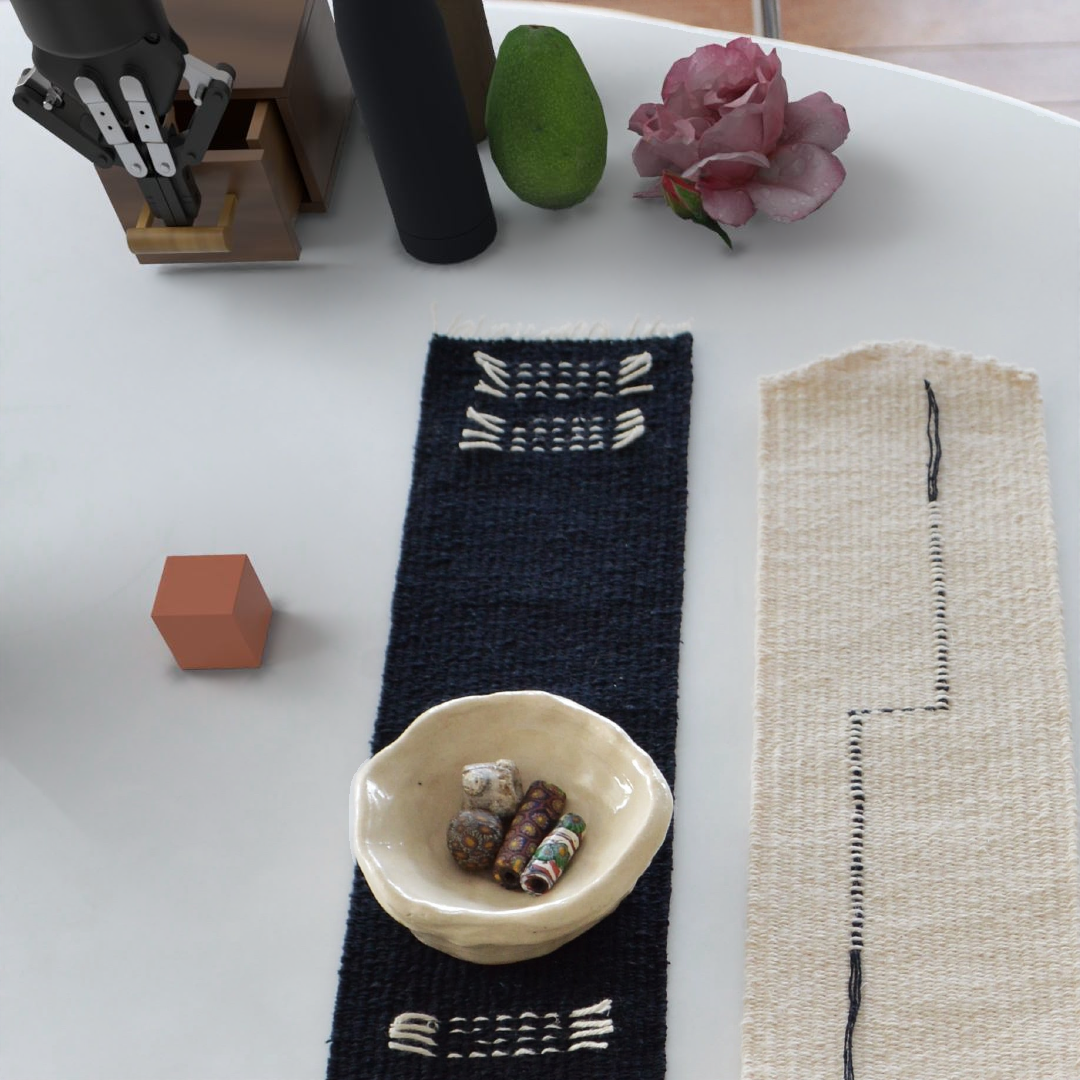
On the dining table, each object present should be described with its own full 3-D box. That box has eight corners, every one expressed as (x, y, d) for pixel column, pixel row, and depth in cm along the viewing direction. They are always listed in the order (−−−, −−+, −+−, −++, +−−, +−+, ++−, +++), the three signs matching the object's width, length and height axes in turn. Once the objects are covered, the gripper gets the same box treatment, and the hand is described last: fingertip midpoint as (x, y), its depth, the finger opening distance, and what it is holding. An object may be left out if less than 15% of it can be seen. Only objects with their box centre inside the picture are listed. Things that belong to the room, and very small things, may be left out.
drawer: (287, 309, 112) (248, 209, 106) (123, 313, 112) (74, 213, 106) (328, 143, 121) (294, 41, 115) (177, 146, 121) (135, 45, 115)
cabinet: (327, 212, 118) (283, 86, 111) (155, 216, 118) (98, 90, 111) (356, 91, 126) (317, -35, 118) (193, 95, 125) (143, -31, 118)
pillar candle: (536, 109, 124) (488, -110, 112) (429, 174, 121) (367, -45, 108) (446, 56, 128) (390, -162, 115) (340, 118, 124) (269, -101, 111)
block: (180, 669, 98) (149, 616, 94) (196, 610, 100) (166, 555, 96) (260, 667, 98) (232, 614, 94) (273, 608, 100) (247, 553, 96)
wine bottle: (493, 263, 116) (360, -234, 90) (395, 266, 115) (235, -231, 90) (502, 202, 119) (377, -295, 93) (407, 204, 119) (256, -292, 93)
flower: (860, 92, 120) (809, -34, 111) (863, 254, 114) (808, 136, 106) (661, 147, 124) (597, 31, 115) (654, 308, 118) (585, 197, 109)
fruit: (636, 214, 118) (605, 44, 108) (524, 247, 116) (482, 77, 106) (597, 149, 122) (564, -22, 112) (488, 180, 120) (444, 9, 110)
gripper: (197, -104, 96) (299, 178, 111) (-46, -98, 96) (88, 184, 111) (170, -26, 92) (279, 255, 107) (-83, -19, 92) (62, 262, 107)
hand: (182, 218), depth 109 cm, fingers closed
